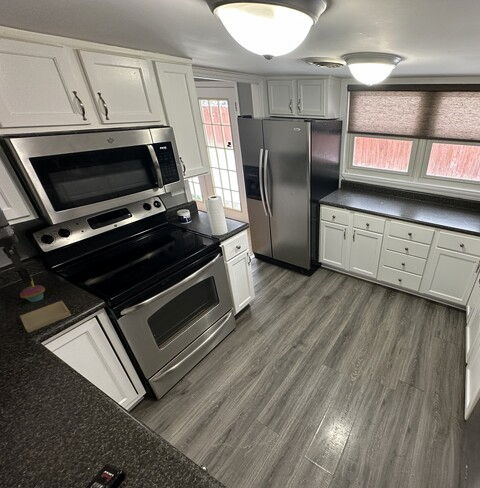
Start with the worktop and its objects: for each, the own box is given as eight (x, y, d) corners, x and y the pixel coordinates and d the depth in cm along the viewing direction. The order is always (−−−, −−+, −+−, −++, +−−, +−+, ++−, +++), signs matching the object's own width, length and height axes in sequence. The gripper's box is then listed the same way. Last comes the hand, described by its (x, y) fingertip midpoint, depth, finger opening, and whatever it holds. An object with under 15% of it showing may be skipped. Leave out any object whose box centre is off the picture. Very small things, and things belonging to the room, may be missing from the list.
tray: (21, 319, 117) (19, 315, 116) (63, 303, 128) (61, 300, 127) (27, 332, 110) (25, 329, 110) (71, 315, 121) (69, 311, 120)
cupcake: (40, 293, 135) (29, 273, 130) (53, 295, 133) (43, 275, 128) (19, 303, 127) (7, 282, 122) (33, 306, 126) (21, 285, 120)
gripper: (19, 240, 112) (42, 282, 121) (10, 226, 125) (30, 265, 134) (-7, 247, 106) (18, 290, 115) (-15, 231, 119) (9, 271, 128)
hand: (25, 276), depth 125 cm, fingers open, 13 cm apart
